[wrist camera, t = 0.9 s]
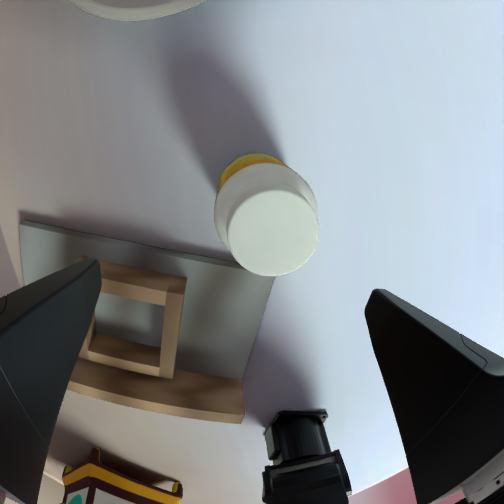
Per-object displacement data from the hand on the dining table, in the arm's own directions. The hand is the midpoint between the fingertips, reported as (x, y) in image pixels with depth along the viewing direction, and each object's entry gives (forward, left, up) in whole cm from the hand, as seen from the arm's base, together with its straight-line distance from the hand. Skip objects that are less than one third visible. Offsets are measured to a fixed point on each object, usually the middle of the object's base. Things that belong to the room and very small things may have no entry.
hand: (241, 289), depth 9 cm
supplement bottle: (-2, -1, -14) cm, 14 cm away
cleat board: (+6, +12, -14) cm, 20 cm away
